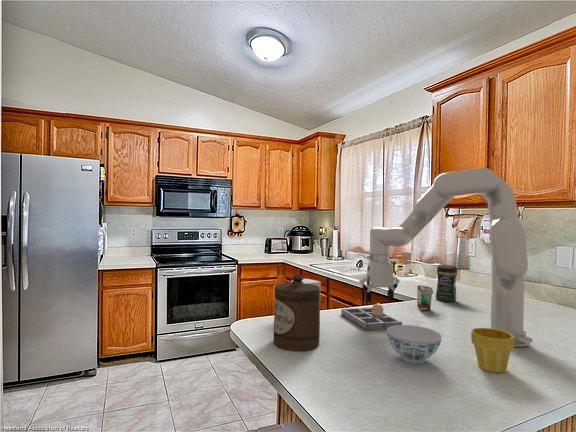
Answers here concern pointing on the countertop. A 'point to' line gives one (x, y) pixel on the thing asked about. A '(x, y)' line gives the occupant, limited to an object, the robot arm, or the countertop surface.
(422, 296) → the food container
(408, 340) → the chinaware
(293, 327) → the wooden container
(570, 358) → the countertop surface
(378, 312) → the egg
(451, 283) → the coffee jar
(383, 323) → the grey compartment tray
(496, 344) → the plant pot
